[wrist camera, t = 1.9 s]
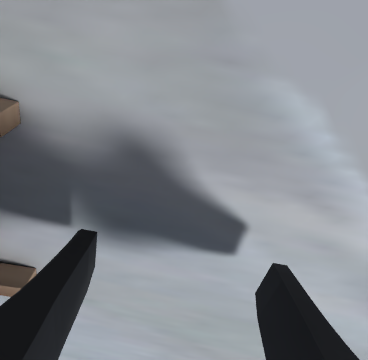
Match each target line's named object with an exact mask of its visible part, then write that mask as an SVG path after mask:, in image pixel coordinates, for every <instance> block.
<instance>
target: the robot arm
mask: <svg viewBox="0 0 368 360" xmlns="http://www.w3.org/2000/svg"><path fill="white" fill-rule="evenodd" d="M96 243H97V232H95V231H90V230H84V229H81V230H79V231H78V232H77V233H76V234H75V235H74V237H73V238H72V239H71V240H70V241H69V242H68V243H67V245H66V246H65V247H64V248H63V249H62V250H61V251H60V252H59V253H58V254H57V255H56V256H55V257H54V258H53V259H52V260H51V261H50V262H49V263H48V264H47V265H46V266H45V267H44V268H43V269H42V270H41V271H40V272H39V273H38V274H37V275H36V276H35V277H34V278H32V279H31V280H30V281H29V282H28V283H27V284H26V285H25V286H23V287H22V288H21V289H20V290H19V291H18V292H17V293H16V294H14V295H13V296H12V297H11V298H10V299H8V300H7V301H6V302H5V303H3V304H2V305H1V306H0V360H58V358H59V356H60V353H61V351H62V348H63V346H64V344H65V341H66V339H67V337H68V334H69V332H70V330H71V327H72V325H73V323H74V321H75V318H76V316H77V314H78V311H79V309H80V307H81V304H82V302H83V300H84V297H85V295H86V293H87V290H88V287H89V284H90V281H91V277H92V274H93V271H94V268H95V257H96ZM255 295H256V308H257V318H258V323H259V328H260V333H261V338H262V343H263V347H264V352H265V357H266V360H359V359H358V358H357V356H356V355H355V354H354V353H353V352H352V351H351V350H350V348H349V347H348V346H347V345H346V344H345V342H344V341H343V340H342V339H341V337H340V336H339V335H338V334H337V333H336V331H335V330H334V329H333V328H332V326H331V325H330V324H329V322H328V321H327V320H326V319H325V317H324V316H323V315H322V313H321V312H320V311H319V309H318V308H317V307H316V305H315V304H314V302H313V301H312V300H311V298H310V297H309V296H308V294H307V293H306V291H305V290H304V289H303V287H302V286H301V284H300V283H299V282H298V280H297V279H296V277H295V276H294V275H293V273H292V272H291V270H290V269H289V268H288V266H287V265H281V264H276V263H273V264H272V265H271V267H270V269H269V270H268V272H267V274H266V276H265V277H264V279H263V281H262V283H261V284H260V286H259V288H258V289H257V291H256V293H255Z"/></svg>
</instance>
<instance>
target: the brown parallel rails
mask: <svg viewBox="0 0 368 360" xmlns="http://www.w3.org/2000/svg"><path fill="white" fill-rule="evenodd" d="M19 124H21V121H20V112H19V102H17V101H13V100H8V99H3V98H0V137H3V136H4V135H5V134H7V133H8V132H9V131H11V130H12V129H14V128H15V127H16V126H18V125H19ZM35 276H36V268H29V267H23V266H17V265H11V264H5V263H0V295H3V296H9V297H12V296H13V295H14V294H16V293H17V292H18V291H19V290H20V289H21V288H22V287H23V286H25V285H26V284H27V283H28V282H29V281H30V280H31V279H32V278H34V277H35Z"/></svg>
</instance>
